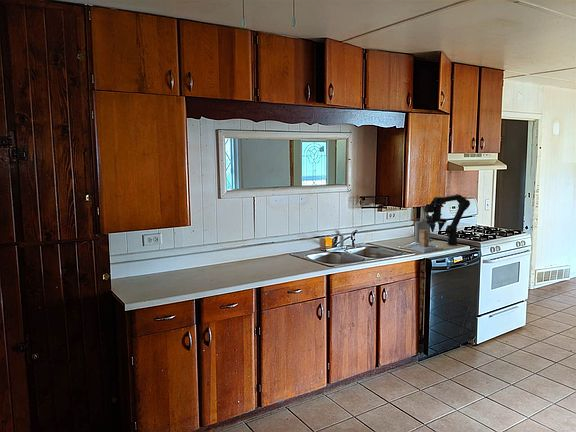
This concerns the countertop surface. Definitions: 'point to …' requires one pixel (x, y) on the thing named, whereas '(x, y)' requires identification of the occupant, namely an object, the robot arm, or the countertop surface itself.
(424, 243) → the walnut block
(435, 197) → the robot arm
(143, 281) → the countertop surface
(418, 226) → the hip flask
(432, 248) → the plinth
